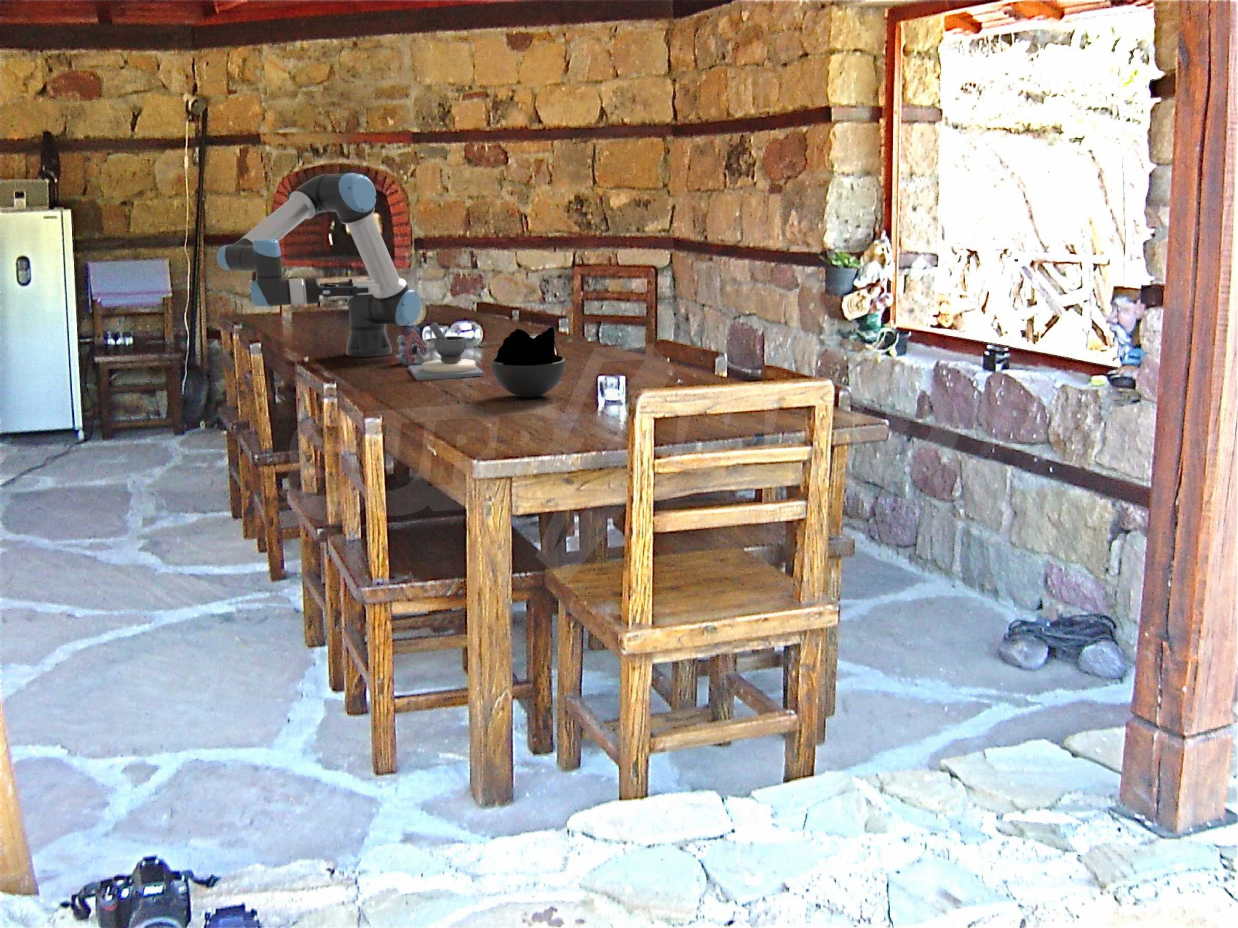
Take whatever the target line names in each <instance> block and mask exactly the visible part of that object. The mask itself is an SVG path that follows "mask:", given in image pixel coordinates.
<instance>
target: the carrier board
mask: <svg viewBox="0 0 1238 928" xmlns="http://www.w3.org/2000/svg"><path fill="white" fill-rule="evenodd" d="M408 371H409V372H410V374H411V375H412V376H413V378H414V379H415V380H416V381H429V380H445V379H448V380H449V379H460V378H461V377H465V378H474V377H473V376H481V377H485V372H484V371H483V370H482V369H480V367H479V366H477V365H476V360H474V359H467V358H466V359H464V358H461V361H459V362H441V359H434V360H430V361H427V362H424V363H422V365H408Z"/></svg>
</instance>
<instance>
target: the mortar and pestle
mask: <svg viewBox="0 0 1238 928" xmlns="http://www.w3.org/2000/svg"><path fill="white" fill-rule="evenodd" d="M428 328H429V330H431V331H432V333H433V334H434V335H433V336H434V337H435V338H433V343H434V348H435V350H436V352H437V354H438V355H439V356H440V360H441V362H459V361H461V359H462V358H461V355H462V354H463V353H464V351H465V349H466V345H467V338H466V337H465V336H458V335H456V336H454V335H453V336H452V335H449V336H446V335H445V333H444V332H443V331H442V330H441V328H440V327H439V324H438V322H432V324H430V325H429V327H428Z"/></svg>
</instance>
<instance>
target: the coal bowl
mask: <svg viewBox="0 0 1238 928" xmlns="http://www.w3.org/2000/svg"><path fill="white" fill-rule="evenodd" d="M509 333H510V334H508V336H507V337H505V338H504V339H503V342H502V345H501V346H500V347H499V348H498V349H497V354H496V358H494V359H493V360H491V362H490V363H491V369H492V372H493V375H494V377H495V379H496V381H497V382H498V383H499V385H500V386H501V387H502V388H503V389H505V390H506V391H507V392H508V393H510V394H513V395H515V396H517V397H520V398H521V397H522V398H536V396H537V397H539V396H543V395H544V394H546V393H547V394H548V393H549V392H550V391H551V390H553V389H554V388H555V387H556V386H557V385H558V383H559V382H560V380H561V378H562V377H563V375H564V372H565V368H566V358H564V357H563V356H560V355H557V354H556V349H555V348H556V347H555V337H556V336H555V335H556V334H555V328H554V327H553V326H550V327H548V328H547V330H545V331H542V332H541V333H538V334H537V335H535V336H534V338H533V337H532V336H531V335H530V334H529V333H528V332H526V330H524V329H521V328H516V329H515V330H514V331H512V332H509Z"/></svg>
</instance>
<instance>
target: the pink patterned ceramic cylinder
mask: <svg viewBox="0 0 1238 928" xmlns="http://www.w3.org/2000/svg"><path fill="white" fill-rule="evenodd" d="M396 342H397V343H398V344H399V347H398V352H399V353H398V354H395V355H394V358H396V359H397V360H398V361H399V362H400V363H401V364H402V365H403V366H415V365H422V363H424V362H427V361H431V353H430V352H429V348H428V346H426V345H425V344H424V342H423V340H422V339H421V337H420V335H419V334H418V333H417V331H416V330H415V328H414V329H412V330H411V332H410V334H409V336H408V339H407V341H406V340H405V337H404V335H402V334H401V335H398V337H397V339H396Z"/></svg>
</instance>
